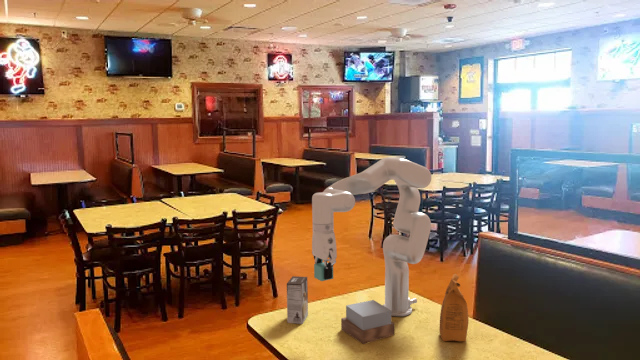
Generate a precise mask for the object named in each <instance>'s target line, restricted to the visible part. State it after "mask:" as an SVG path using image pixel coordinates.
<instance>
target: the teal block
mask: <svg viewBox="0 0 640 360" xmlns="http://www.w3.org/2000/svg"><path fill="white" fill-rule="evenodd" d="M328 263H329V262H327V264H328ZM324 268H325V265H324V261H323V262H322V263H317V264H315V263H314V264H313V269H314V270H313V274H314V275H313V276H314V279H316V280H318V281H320V282H325V281H330V280H333V279H334V267H333V268H332V278H331V279H326V280H325V279H324Z"/></svg>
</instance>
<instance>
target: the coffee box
mask: <svg viewBox="0 0 640 360" xmlns="http://www.w3.org/2000/svg"><path fill="white" fill-rule="evenodd" d="M308 290H309V289H308V276H296V275H295V276H294V275H293V276H292V277H290V279H289V280H288V281H287V282H286V311H287V312H286V313H287V314H286V316H287V317H286V318H287V320H286V321H287V323H289V324H301V325H303V324H304V322H305V320H306V319H307V318H308V316H309V306H308V305H309V300H308V297H309V296H308V294H309V293H308Z"/></svg>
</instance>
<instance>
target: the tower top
mask: <svg viewBox="0 0 640 360" xmlns="http://www.w3.org/2000/svg"><path fill="white" fill-rule="evenodd" d="M383 305H384V304H381V303H379V302H378V301H376V300H374V299H372V300H371V299H370V300H367V301H362V302H356V303H351V304H347V305H345V317H346V319H348V320H349V321H351V322H352V323H353V324H355V325H356V326H357V327H359V328H360V329H362V330H367V329H372V328H376V327H380V326H385V325H389V324H391V321H392V316H391V310H389V309H388V308H386V307H384V306H383Z"/></svg>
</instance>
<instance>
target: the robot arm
mask: <svg viewBox="0 0 640 360" xmlns="http://www.w3.org/2000/svg"><path fill="white" fill-rule="evenodd" d="M391 180H393V181H394V182H395V184H396V186H397V189H398V192H399V199H398V203H397V206H396V211H395V213H394V218H393V224H392V225H393V228H394V229H395V230H396V231H397V232H400V233H403V234H406V235H409V237H407V236H404V235H400V234H389V235H388V236H387V237H385V238H384V240H383V243H382V252H383V257H384V268H385V269H384V270H385V271H384V304H382V305H383V306H384V307H386V308H388V309H389V310H391V317H405V316H409V315H411V314H412V313H413V308H412V307H411V305H412V304H417V303H418V299H417V298H416V297H413V298H410V297H409V288H410V287H409V285H410V284H409V281H410V276H409V275H410V269H409V264H411V265H415V264H418V263H420V262H421V260H422V259H423V257H424V255H425V252H426V250H427V249H426V248H427V245H428V240H429V237H430V234H431V229H432V222H431V219H430V217H429V215H428V214H426V213H423V212H421V211H419V209H420V204H421V193H420V191H419V189H424V188H425V189H426V188H427V187H428V186H429V185H430V184H431V183H432V173H431V171H430V170H429V169H428V167H426V166H424V165H421V164H418V163H416V162H413V161H410V160H408V159H406V158H401V157H400V158H399V157H389V156H387V157H384V158H381V159H380V160H378V161H377V162H375V163H374V164H372V165H371V166H369V167H368V168H366V169H364V170H363V171H361V172H359V173H355V174H353V175H350V176H348V177H345V178H343V179H340V180H338V181H335V182H334V183H332V184H331V185H329V186H328V187H326V188H325V189H324V190H323V191H322V192H315V193H314V194H313V195H312V197H311V207H312V208H311V210H312V211H311V213H312V215H311V216H312V236H311V254H312V256H313V259H314V264H317V263H322V262H324V265H325V268H324V279H325V281H327V280H326V279H330V280H332V279H331V278H332V268H333V269H334V266H335V264H336V263H337V260H336V259H337V256H338V253H337V241H336V234H335V231H334V229H335V228H334V226H335V223H334V221H335V220H334V213H347V212H350V211H351V210H352V209H353V208H354V207H355V205H356V198H355V196H356V195H362V194H363V195H365V194H369V193H374V192H375V191H376V190H378V189H379V188H381V187H382V186H383V185H385V184H386V183H388V182H389V181H391ZM354 195H355V196H354ZM327 263H328V264H327Z"/></svg>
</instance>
